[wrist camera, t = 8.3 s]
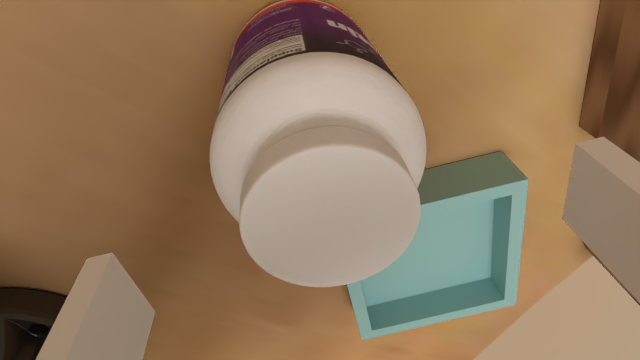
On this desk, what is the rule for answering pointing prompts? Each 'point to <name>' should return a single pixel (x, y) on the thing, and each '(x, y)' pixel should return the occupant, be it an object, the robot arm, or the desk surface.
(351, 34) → the pill bottle
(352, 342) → the desk surface
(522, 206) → the tray
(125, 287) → the robot arm
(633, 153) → the mount
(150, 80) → the desk surface
